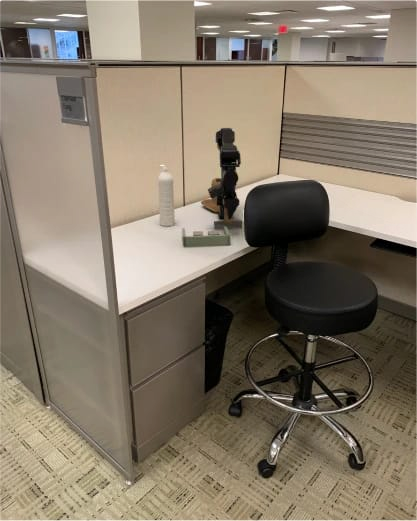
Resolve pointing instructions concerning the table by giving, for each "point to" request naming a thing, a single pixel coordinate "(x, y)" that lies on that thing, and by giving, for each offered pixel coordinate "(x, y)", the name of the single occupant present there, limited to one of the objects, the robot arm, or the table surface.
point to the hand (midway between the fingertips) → (228, 215)
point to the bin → (206, 239)
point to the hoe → (228, 222)
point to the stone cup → (212, 202)
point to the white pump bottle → (166, 197)
